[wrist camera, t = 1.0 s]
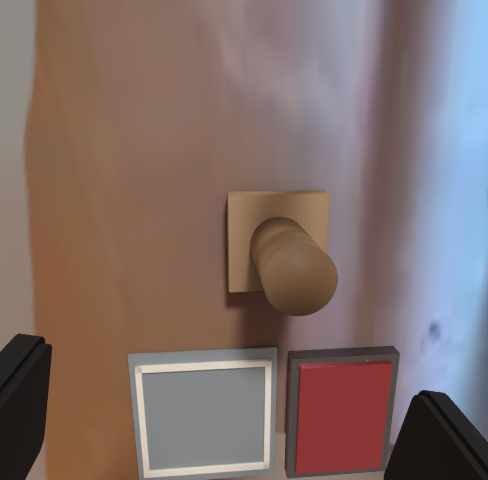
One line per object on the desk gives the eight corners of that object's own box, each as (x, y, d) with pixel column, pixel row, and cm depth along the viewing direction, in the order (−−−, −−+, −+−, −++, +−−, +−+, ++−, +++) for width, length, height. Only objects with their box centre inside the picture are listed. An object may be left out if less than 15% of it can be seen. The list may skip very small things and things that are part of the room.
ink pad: (393, 346, 34) (401, 355, 33) (379, 459, 37) (386, 473, 36) (288, 351, 33) (292, 361, 32) (284, 467, 37) (287, 481, 35)
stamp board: (276, 346, 33) (277, 349, 33) (273, 472, 37) (274, 477, 36) (128, 353, 32) (127, 357, 31) (140, 482, 36) (139, 487, 35)
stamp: (320, 188, 30) (370, 216, 21) (315, 276, 32) (359, 337, 23) (226, 190, 29) (235, 219, 20) (227, 279, 31) (236, 343, 22)
